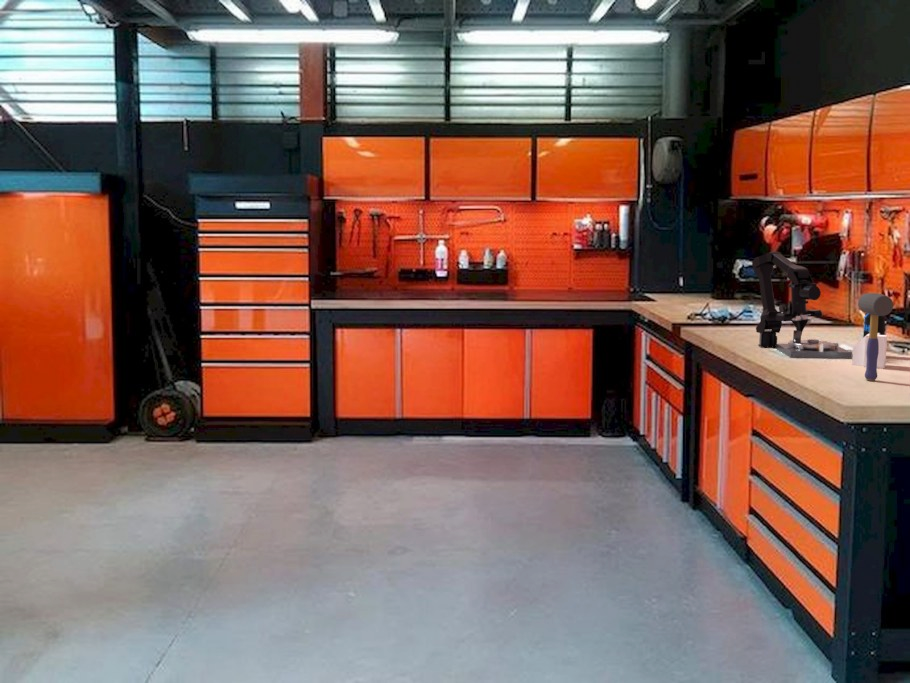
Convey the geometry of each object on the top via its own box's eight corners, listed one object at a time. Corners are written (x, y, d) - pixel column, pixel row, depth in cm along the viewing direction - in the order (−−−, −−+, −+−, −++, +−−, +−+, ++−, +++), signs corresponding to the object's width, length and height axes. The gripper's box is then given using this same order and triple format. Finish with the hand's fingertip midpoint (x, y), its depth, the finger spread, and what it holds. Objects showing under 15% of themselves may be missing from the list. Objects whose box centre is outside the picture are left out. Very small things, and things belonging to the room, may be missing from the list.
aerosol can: (882, 355, 385) (885, 306, 382) (884, 358, 377) (887, 308, 375) (860, 354, 387) (863, 305, 385) (862, 357, 380) (865, 307, 377)
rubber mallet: (851, 377, 330) (856, 291, 326) (872, 377, 330) (878, 291, 326) (868, 383, 318) (873, 294, 314) (890, 383, 318) (896, 294, 314)
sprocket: (829, 344, 397) (830, 328, 396) (845, 350, 377) (846, 334, 377) (781, 343, 398) (782, 327, 397) (795, 350, 379) (796, 333, 378)
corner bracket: (883, 368, 350) (885, 336, 348) (850, 366, 356) (852, 334, 354) (887, 365, 359) (889, 333, 357) (855, 362, 365) (857, 331, 363)
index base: (790, 357, 378) (791, 343, 377) (775, 349, 401) (776, 336, 400) (851, 358, 376) (852, 344, 375) (833, 350, 399) (834, 337, 398)
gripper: (805, 295, 399) (806, 331, 401) (767, 299, 393) (768, 336, 395) (822, 296, 388) (823, 334, 390) (783, 301, 383) (784, 339, 385)
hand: (799, 336), depth 390 cm, fingers closed
